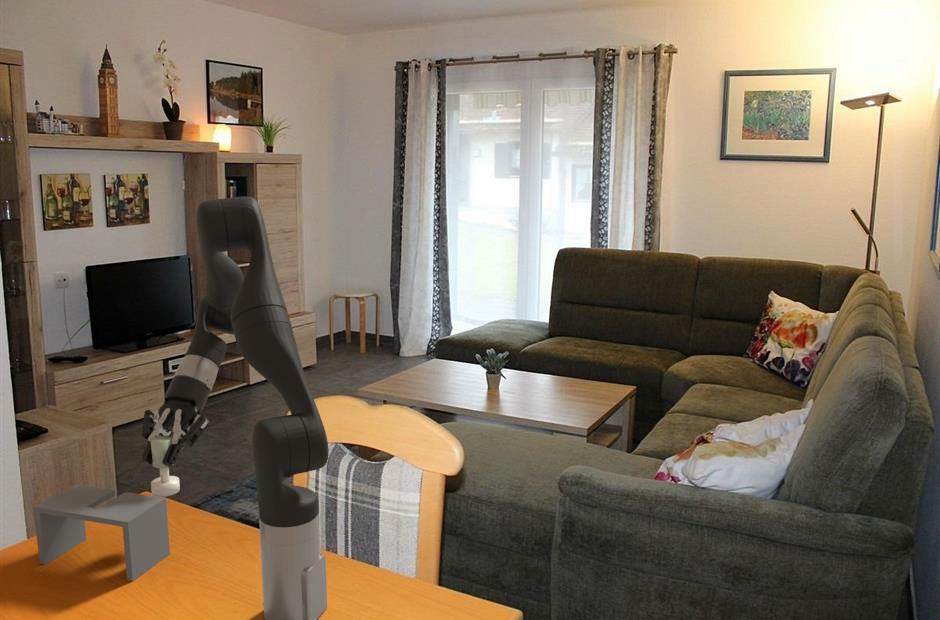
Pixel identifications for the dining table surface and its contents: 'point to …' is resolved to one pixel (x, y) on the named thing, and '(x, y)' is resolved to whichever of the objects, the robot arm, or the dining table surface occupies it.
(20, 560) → the dining table surface
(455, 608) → the dining table surface
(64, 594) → the dining table surface
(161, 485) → the wine glass
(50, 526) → the slotted rack
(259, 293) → the robot arm
